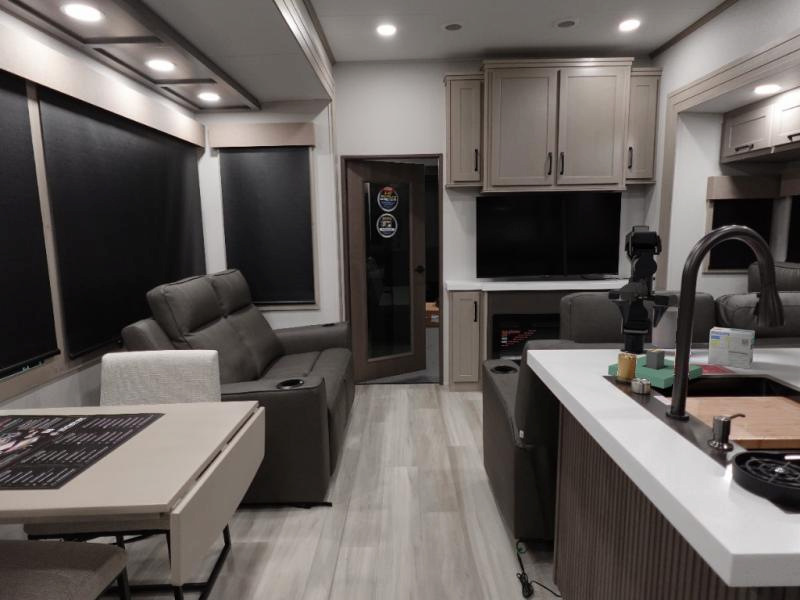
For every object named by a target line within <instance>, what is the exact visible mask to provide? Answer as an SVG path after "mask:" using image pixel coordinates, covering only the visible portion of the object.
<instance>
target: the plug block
mask: <svg viewBox="0 0 800 600" xmlns="http://www.w3.org/2000/svg"><path fill="white" fill-rule="evenodd" d="M665 352H666V350H661V349H656V348H653V349H649V350H648V351H647V352H646V353H645V354H646V355H645V356H646V367H647V368H651V369H656V370H660V369H663V368H664V359H665V358H666V357H665V355H666V354H665Z"/></svg>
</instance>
